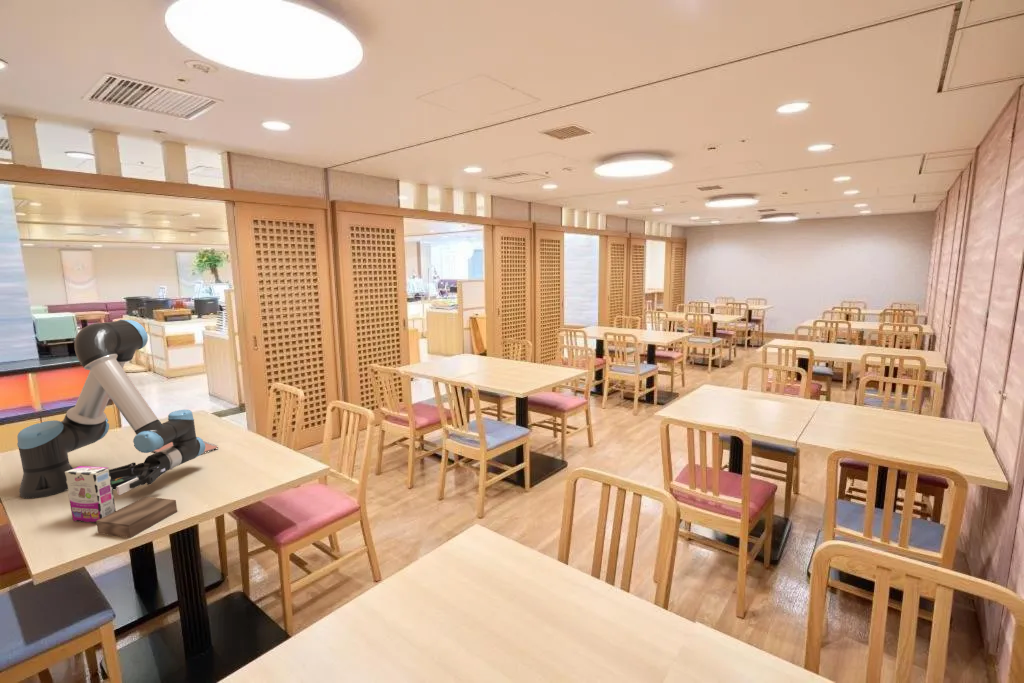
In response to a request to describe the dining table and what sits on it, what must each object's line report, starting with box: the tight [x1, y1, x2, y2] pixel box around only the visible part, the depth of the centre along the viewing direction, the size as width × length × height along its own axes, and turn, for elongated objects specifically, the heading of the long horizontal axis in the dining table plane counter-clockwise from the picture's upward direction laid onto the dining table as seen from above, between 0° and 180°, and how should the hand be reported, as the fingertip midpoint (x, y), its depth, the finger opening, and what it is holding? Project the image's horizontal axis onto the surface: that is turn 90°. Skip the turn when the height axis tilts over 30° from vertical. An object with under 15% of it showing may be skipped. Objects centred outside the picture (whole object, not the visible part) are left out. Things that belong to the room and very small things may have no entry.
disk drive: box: [111, 471, 140, 491], centre depth 171 cm, size 10×3×15 cm
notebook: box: [151, 440, 219, 455], centre depth 203 cm, size 27×17×2 cm, turn 59°
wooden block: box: [96, 496, 178, 538], centre depth 144 cm, size 12×15×4 cm
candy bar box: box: [65, 465, 117, 524], centre depth 146 cm, size 11×5×16 cm, turn 81°
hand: (100, 489), depth 148 cm, fingers open, 13 cm apart
